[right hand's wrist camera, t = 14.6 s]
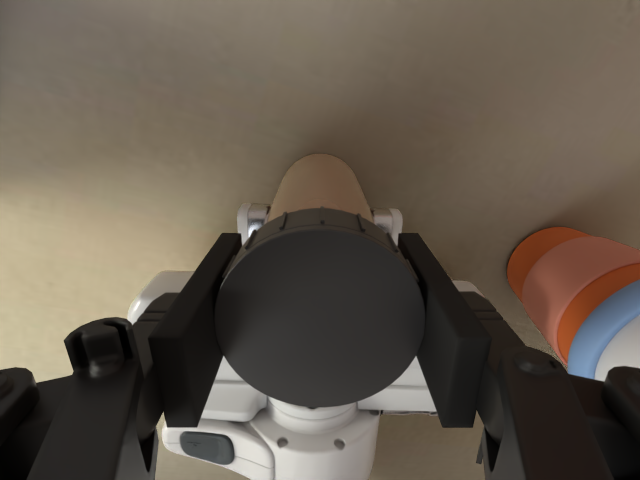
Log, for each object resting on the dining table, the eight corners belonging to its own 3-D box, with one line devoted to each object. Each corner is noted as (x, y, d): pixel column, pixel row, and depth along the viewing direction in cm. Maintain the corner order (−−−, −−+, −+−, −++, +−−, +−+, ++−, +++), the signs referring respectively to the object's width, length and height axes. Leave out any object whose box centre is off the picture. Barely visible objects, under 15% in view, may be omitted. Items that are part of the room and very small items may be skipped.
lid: (371, 171, 11) (381, 187, 9) (437, 330, 13) (456, 369, 11) (192, 252, 12) (168, 282, 10) (281, 388, 14) (275, 432, 12)
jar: (340, 139, 24) (369, 205, 10) (370, 211, 25) (433, 354, 11) (267, 174, 24) (195, 280, 10) (301, 240, 26) (280, 408, 12)
